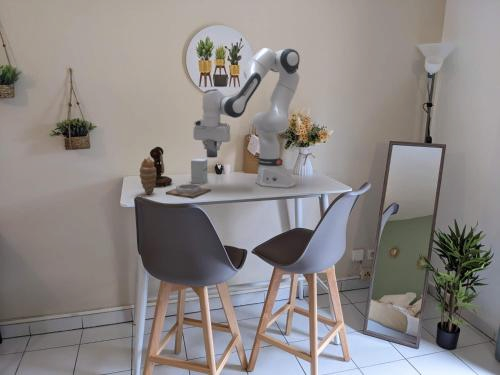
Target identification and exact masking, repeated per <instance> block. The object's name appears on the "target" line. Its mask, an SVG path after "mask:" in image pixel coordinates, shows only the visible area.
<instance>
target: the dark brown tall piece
mask: <svg viewBox="0 0 500 375" xmlns="http://www.w3.org/2000/svg"><path fill="white" fill-rule="evenodd" d="M149 155H150V156H149V157H150V158H151V159H152V160H153V162H154V167H155V168H156V174H157V176H156V181H155V186H161V185H163V186H164V187H165V188H166V186H167V185H169V184H171V183H173V179H172V178H171V177H169V176H166V175H164V174H165V163H164V160H163V158H164V157H163V155H164V149H163V148H162V147H160V146H155V147H154V148H152V149H151V150H150V151H149Z"/></svg>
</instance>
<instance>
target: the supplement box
mask: <svg viewBox="0 0 500 375" xmlns="http://www.w3.org/2000/svg"><path fill="white" fill-rule="evenodd" d="M190 171H191V172H190V174H191V175H190V181H191V183H190V184H203V185H204V184H206V182H208V158H194V159H191V161H190Z"/></svg>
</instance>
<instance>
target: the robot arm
mask: <svg viewBox="0 0 500 375" xmlns="http://www.w3.org/2000/svg"><path fill="white" fill-rule="evenodd" d="M300 60H301V59H300V55H299V52H298V51H297V50H295V49H292V48H286V49H279V50H276V51H273V50H272V49H271V48H268V47H262V48H261V49H260V50H258V51H257V52H256V53H255V54H254V55H253V56H252V58H250V59H249V61H248V62H247V64H246V65H245V67H244V69H243V76H244V78H245V82H244V83H243V85H242V87H241V88H240V90H239V91H238V93H237V94H235V95H232V96H229V95H227V94H226V93H223V92H221V91H220V90H219V89H217V88H214V89H208V90H205V91H204V92H203V94H202V112H203V113H202V119H198V120H196V121H194V122H193V125H194V127H193V139H194V140H196V141H201V143H202V146H203V149H204V150H207V145H206V139H209V140H214V141H217V147H216V150H217V151H220V150H221V146H222V144H223V143H229V142H230V141H231V131H230V130H231V128H230V126H231V125H229V124H228V123H226V122H221V115H223V116H226V117H231V118H240V117H241V116H242V115H243V114H244V113H245V111H246V108H247V106H248V103H249V101H250V100H251V98H252V96H253V95H254V94H255V92H256V90H257V89H258V87H259V86H260V84H261V82H262V81H263V79H264V78H265V77H266V76H267V75H268V73H269V72H270V71H272V72H274V73H279V76H278V80H277V82H276V84H275V87H274V88H273V91H272V92H271V95H270V97H269V101H270V102H271V104H270V109H269V111H267V110H263V111H260V112H259V111H258V112H257V113H256V114H254V116H253V119H252V123H253V126H254V128H255V130H256V134H257V137H258V143H259V144H258V146H259V147H258V148H259V149H258V150H259V152H258V153H259V155H258V161H257V162H258V163H257V165H258V166H257V167H258V170H257V176H256V180H255V183H256V184H258V185H259V186H260V187H272V188H273V187H274V188H283V189H284V188H285V189H287V188H288V189H289V188H292V187H295V186H296V185H297V182H296V180H293V174H292V172H291V171H290V170H288V169H287V167H286V166H284V165H283V163H284V159H281V158H280V150H281V149H280V148H281V147H280V146H281V145H280V142H279V139H278V137H277V134H283V133H285V132H286V131H287V130H288V129H289V125H290V121H289V118H288V113H289V108H290V105H291V102H292V100H293V98H294V95H295V93H296V91H297V88H298V85H299V81H300V74H299V72H297V71H298V70H299V65H300Z"/></svg>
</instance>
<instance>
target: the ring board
mask: <svg viewBox="0 0 500 375" xmlns="http://www.w3.org/2000/svg"><path fill="white" fill-rule="evenodd" d="M211 191H212V190H211V188H204V187H201V185H199V184H197V183H185V184H183V183H182V184H179V185H176V186H175V188H173V189H171V190H167V191H166V192H165V195H170V196H175V197H180V198H187V199H195V198H198V197H200V196H202V195H206V194H208V193H209V192H211Z"/></svg>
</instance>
